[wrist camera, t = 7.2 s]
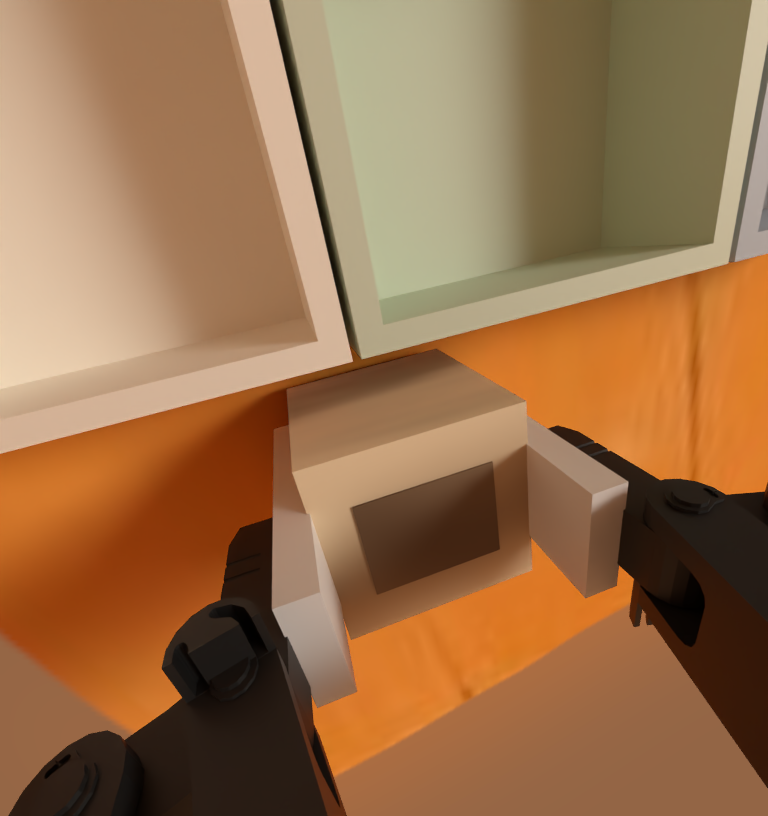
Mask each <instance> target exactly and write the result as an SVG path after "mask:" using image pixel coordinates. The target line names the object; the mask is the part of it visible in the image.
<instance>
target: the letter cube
mask: <svg viewBox="0 0 768 816" xmlns="http://www.w3.org/2000/svg"><path fill="white" fill-rule="evenodd" d="M287 403H288V418H289V433H290V448H291V463H292V474H293V476H294V479H295V482H296V485H297V488H298V491H299V493H300V496H301V499H302V502H303V505H304V508H305V510H306V513H307V514H309V513H310V515H311V518H312V521H313V524H314V527H315V530H316V533H317V536H318V539H319V542H320V545H321V548H322V550H323V553H324V556H325V559H326V562H327V565H328V568H329V571H330V574H331V577H332V580H333V583H334V586H335V588H336V591H337V594H338V597H339V600H340V603H341V608H342V613H343V618H344V621H345V624H346V627H347V630H348V632H349V635H350V638H351V640H352V639H355V638H357V637H360V636H363V635H365V634H368V633H370V632H373V631H375V630H378V629H381V628H383V627H386V626H388V625H391V624H394V623H396V622H399V621H401V620H404V619H407V618H409V617H412V616H414V615H417V614H420V613H422V612H425V611H427V610H430V609H433V608H435V607H438V606H440V605H443V604H446V603H448V602H451V601H453V600H456V599H458V598H461V597H464V596H466V595H469V594H471V593H474V592H477V591H479V590H482V589H484V588H487V587H490V586H492V585H495V584H497V583H500V582H503V581H505V580H508V579H510V578H513V577H516V576H518V575H521V574H523V573H526V572H529V571H531V570H532V552H531V537H530V536H529V509H528V477H527V446H526V444H528V436H527V408H526V401H525V400H523V399H522V398H520V397H518V396H517V395H515V394H513V393H511V392H510V391H508V390H506V389H505V388H503V387H501V386H499V385H498V384H496V383H494V382H493V381H491V380H489V379H487V378H486V377H484V376H482V375H481V374H479V373H477V372H475V371H474V370H472V369H470V368H469V367H467V366H465V365H463V364H462V363H460V362H458V361H457V360H455V359H453V358H451V357H450V356H448V355H446V354H445V353H443V352H441V351H439V350H438V349H434V350H430V351H426V352H422V353H419V354H415V355H411V356H408V357H404V358H400V359H396V360H393V361H389V362H385V363H381V364H378V365H374V366H370V367H367V368H363V369H359V370H355V371H352V372H348V373H344V374H340V375H337V376H333V377H329V378H325V379H322V380H318V381H314V382H311V383H307V384H303V385H299V386H296V387H292V388H288V389H287Z"/></svg>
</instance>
